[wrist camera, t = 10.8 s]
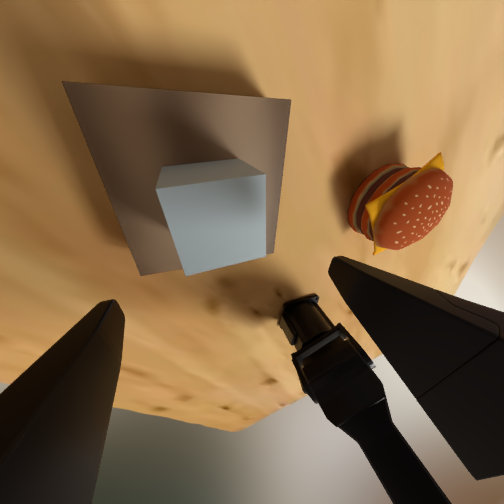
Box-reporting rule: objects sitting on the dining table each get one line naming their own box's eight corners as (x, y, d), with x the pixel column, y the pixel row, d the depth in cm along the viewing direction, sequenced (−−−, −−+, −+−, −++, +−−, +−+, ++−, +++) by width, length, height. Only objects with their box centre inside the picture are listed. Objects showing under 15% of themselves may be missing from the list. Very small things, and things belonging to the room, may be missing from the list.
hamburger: (353, 244, 28) (393, 271, 23) (338, 194, 22) (387, 216, 17) (408, 204, 27) (463, 224, 22) (408, 141, 21) (483, 147, 16)
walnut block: (267, 104, 15) (291, 99, 12) (259, 234, 22) (273, 253, 19) (91, 92, 12) (61, 81, 9) (146, 250, 19) (140, 276, 15)
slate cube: (238, 158, 13) (265, 174, 9) (243, 223, 16) (266, 256, 12) (161, 166, 12) (155, 188, 8) (182, 235, 15) (185, 276, 11)
